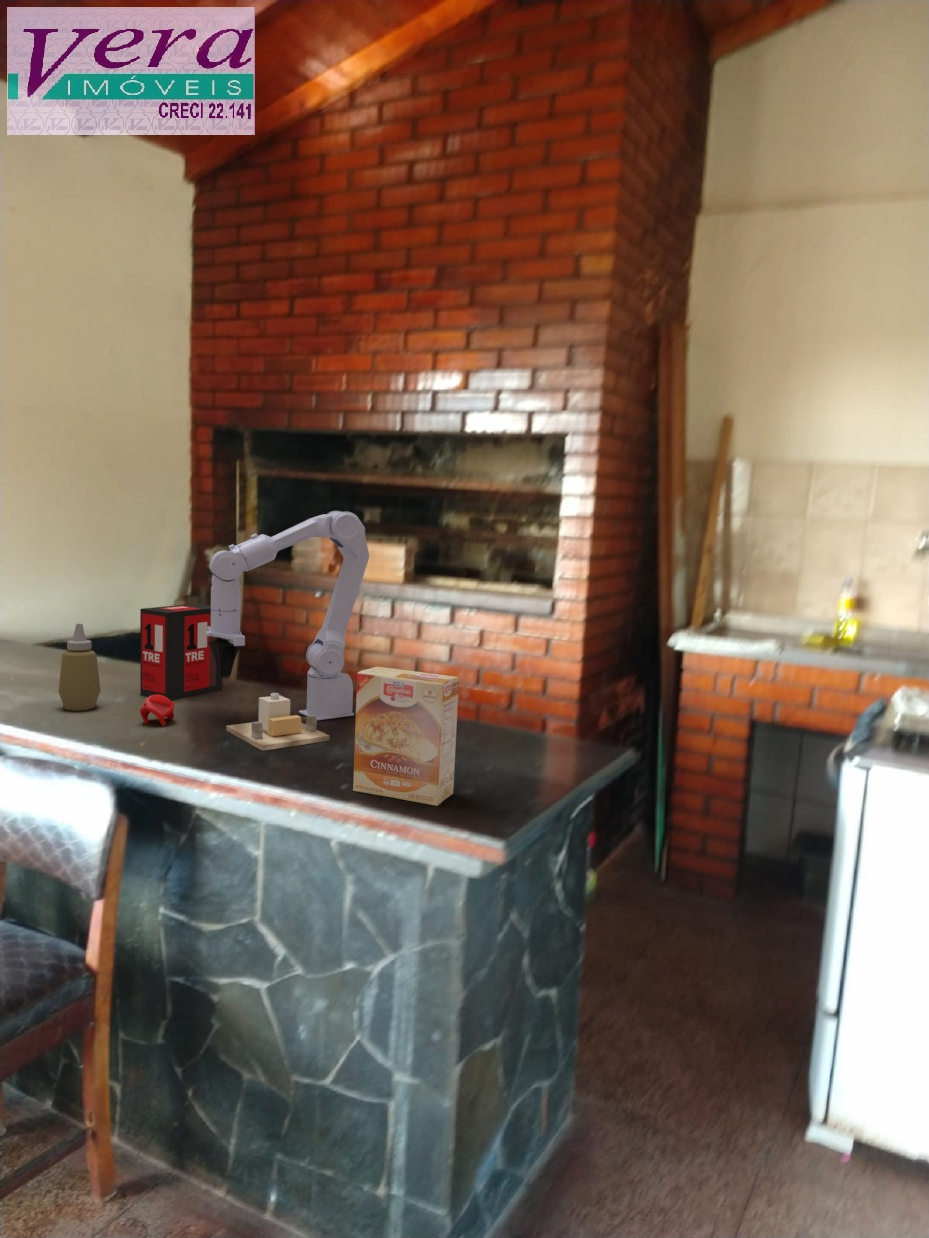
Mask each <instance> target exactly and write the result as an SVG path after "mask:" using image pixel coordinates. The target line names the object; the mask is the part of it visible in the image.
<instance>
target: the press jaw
mask: <svg viewBox="0 0 929 1238" xmlns="http://www.w3.org/2000/svg"><path fill="white" fill-rule="evenodd" d="M301 723H302V717H301V716H300V715H297V714H295V715H290V716H285V717H278V718H270V719H268V734H269V735H271V736H279V735H286V734H293V733H300V732H301Z"/></svg>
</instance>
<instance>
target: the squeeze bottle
mask: <svg viewBox="0 0 929 1238" xmlns="http://www.w3.org/2000/svg"><path fill="white" fill-rule="evenodd" d="M66 646H67V647H66V648H67V650H65V651H64V652H63V653H62V654H61V662H60V663H61V664H60V671H59V672H60V675H59V684H58V695H59V697H60V699H61V703H62V705H63V708H64V710H68V711H73V712H76V711H77V712H78V711H79V712H80V711H87V710H88V711H89V710H92V709H95V708H96V706H97V701H98V699H99V696H100V693H101V684H100V682H101V681H100V674H99V667H98V656H97V653H96V652H95V651H94V650H92V640H90V639H89V640H88V639H87V637H86V634H85V629H84V626H83V623H75V628H74V631H73V637H72V639H71V640H67V641H66Z"/></svg>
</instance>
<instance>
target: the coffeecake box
mask: <svg viewBox="0 0 929 1238" xmlns="http://www.w3.org/2000/svg"><path fill="white" fill-rule="evenodd" d="M356 675H357V676H356V698H355V699H356V700H355V701H356V702H355V703H356V705H355V724H354V725H355V728H354V729H355V732H354V752H353V753H354V758H353V763H354V764H353V785H352V787H353V788H352V790H353V792H358V793H364V794H370V795H375V796H380V797H381V796H382V797H386V798H387V797H388V798H393V799H396V800H397V799H398V800H404V801H410V802H414V803H420V804H425V805H431V806H436V807H438V806H439V805H441V804H442V802H444V801H445V800H446V799H448V798H449V797H450V796H452V795H453V794H454V785H455V783H454V782H455V763H456V745H457V742H456V741H457V728H458V727H457V726H458V725H457V724H458V707H459V706H458V704H459V688H460V687H459V684H460V677H459V676H454V675H445V674H437V673H433V672H432V673H430V672H429V673H428V672H423V671H422V672H421V671H415V670H407V669H400V668H393V667H392V668H391V667H384V666H374V667H370V668H367V669H362V670H360V671H358V672H357V673H356Z"/></svg>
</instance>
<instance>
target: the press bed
mask: <svg viewBox="0 0 929 1238" xmlns="http://www.w3.org/2000/svg"><path fill="white" fill-rule="evenodd" d="M317 722H318V720H317V716H316V715H313V714H312V715H306V716H305V723H303V722H301V732H300V733H293V734H286V735H279V736H271V735H269V734H268V732H266V731H264V730H263V723H262V722H260V721H259V720H257V721H251V722H246V723H244V722H243V723H237V724H231V725H226V727H225V728H226V729H225V730H226V732H228V733H229V734H231V735H233V736H235V737H237V738H239V739H240V740H242V741H244V742H246V743H248V744H249V745H251V746H253V747H255V748H256V749H258V750H260V751H264V752H265V751H270V750H277V749H283V748H289V747H298V746H302V745H303V746H304V745H308V744H316V743H321V742H330V735H329V734H326V733H325V732H323V731H320V730H318V729H317Z"/></svg>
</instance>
